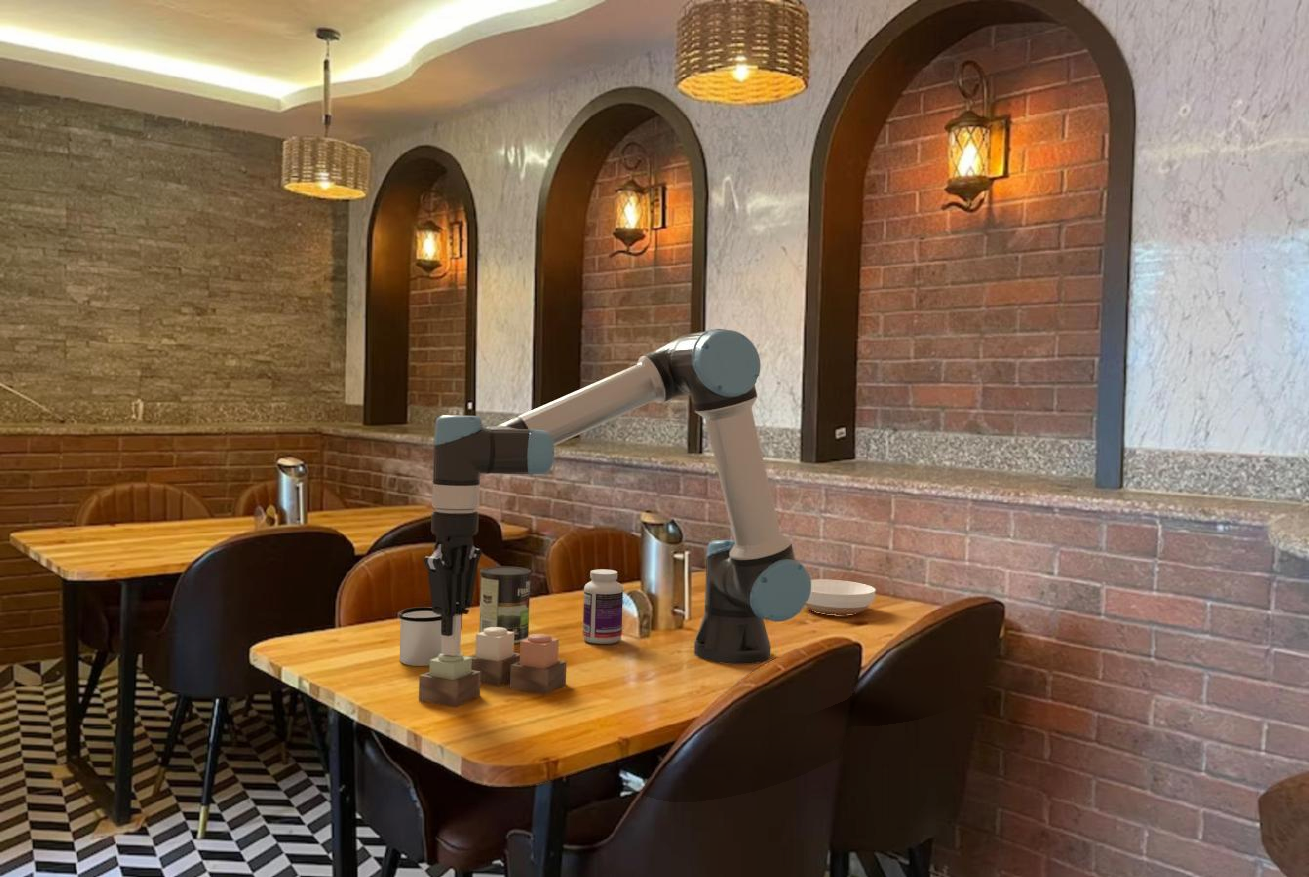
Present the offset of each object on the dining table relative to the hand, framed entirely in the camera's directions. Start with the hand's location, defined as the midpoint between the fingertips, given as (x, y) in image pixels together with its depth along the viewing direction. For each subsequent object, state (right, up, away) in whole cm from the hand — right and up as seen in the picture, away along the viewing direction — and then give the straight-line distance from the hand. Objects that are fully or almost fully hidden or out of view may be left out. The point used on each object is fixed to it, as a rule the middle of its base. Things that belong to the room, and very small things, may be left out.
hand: (450, 653), depth 158 cm
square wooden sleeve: (+5, -7, +12) cm, 15 cm away
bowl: (+77, -8, +80) cm, 111 cm away
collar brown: (+13, -7, +9) cm, 17 cm away
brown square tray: (0, -7, 0) cm, 7 cm away
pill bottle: (+22, -7, +42) cm, 48 cm away
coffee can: (+2, -6, +41) cm, 41 cm away
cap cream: (+5, -5, +12) cm, 14 cm away
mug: (-9, -6, +23) cm, 25 cm away
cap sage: (0, -7, 0) cm, 7 cm away
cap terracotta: (+13, -5, +9) cm, 17 cm away
